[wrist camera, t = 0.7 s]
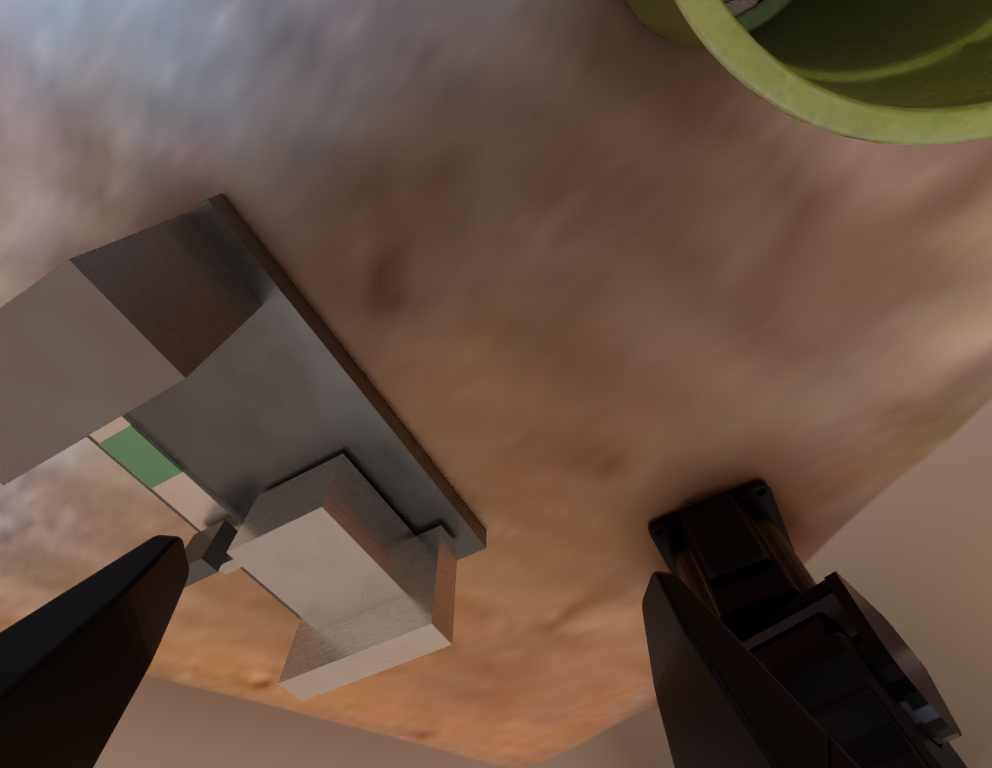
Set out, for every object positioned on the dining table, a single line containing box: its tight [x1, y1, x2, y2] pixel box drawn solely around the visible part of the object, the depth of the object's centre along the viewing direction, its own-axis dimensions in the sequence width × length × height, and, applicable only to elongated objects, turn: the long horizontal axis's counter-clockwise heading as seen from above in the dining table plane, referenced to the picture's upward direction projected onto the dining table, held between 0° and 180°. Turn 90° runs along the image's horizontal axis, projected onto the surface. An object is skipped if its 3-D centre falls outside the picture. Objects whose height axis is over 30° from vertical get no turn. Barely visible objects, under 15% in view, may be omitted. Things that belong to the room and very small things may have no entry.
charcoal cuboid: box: [185, 520, 238, 587], centre depth 24 cm, size 1×2×2 cm, turn 119°
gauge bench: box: [0, 194, 486, 619], centre depth 22 cm, size 20×12×7 cm, turn 29°
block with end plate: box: [219, 454, 458, 701], centre depth 23 cm, size 8×10×6 cm
